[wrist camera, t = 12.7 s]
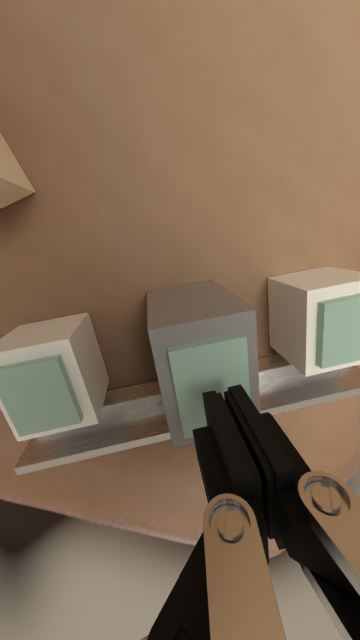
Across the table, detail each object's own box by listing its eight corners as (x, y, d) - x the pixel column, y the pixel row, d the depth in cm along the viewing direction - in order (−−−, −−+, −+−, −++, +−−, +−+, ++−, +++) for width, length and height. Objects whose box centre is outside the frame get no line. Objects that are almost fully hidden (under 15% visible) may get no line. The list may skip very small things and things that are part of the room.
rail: (39, 405, 20) (7, 457, 15) (333, 341, 22) (384, 370, 17) (48, 424, 21) (19, 479, 16) (332, 361, 23) (381, 393, 18)
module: (146, 291, 18) (147, 334, 10) (211, 280, 19) (260, 312, 11) (162, 371, 21) (174, 456, 13) (219, 359, 21) (265, 435, 13)
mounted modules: (19, 325, 18) (-34, 362, 12) (326, 266, 19) (394, 277, 14) (48, 393, 20) (12, 449, 14) (323, 334, 21) (381, 365, 16)
